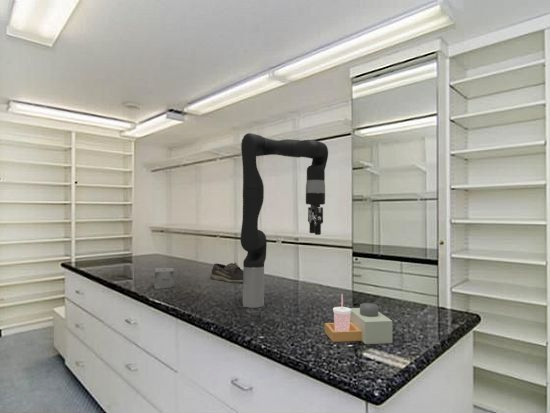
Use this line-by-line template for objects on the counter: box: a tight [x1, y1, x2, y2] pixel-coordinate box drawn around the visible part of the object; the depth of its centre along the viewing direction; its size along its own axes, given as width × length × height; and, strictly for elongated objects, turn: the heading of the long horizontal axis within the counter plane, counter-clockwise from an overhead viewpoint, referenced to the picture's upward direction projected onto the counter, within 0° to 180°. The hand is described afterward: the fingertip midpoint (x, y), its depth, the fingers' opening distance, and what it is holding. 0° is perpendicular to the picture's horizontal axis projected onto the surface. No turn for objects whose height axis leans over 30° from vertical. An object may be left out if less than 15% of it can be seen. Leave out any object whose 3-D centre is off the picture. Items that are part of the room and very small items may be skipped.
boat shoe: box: [210, 262, 243, 284], centre depth 214 cm, size 11×29×11 cm, turn 64°
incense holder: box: [154, 266, 175, 290], centre depth 193 cm, size 10×8×10 cm
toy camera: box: [324, 302, 393, 345], centre depth 121 cm, size 19×16×10 cm
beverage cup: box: [332, 293, 351, 331], centre depth 120 cm, size 6×6×14 cm
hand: (314, 233), depth 139 cm, fingers open, 8 cm apart
